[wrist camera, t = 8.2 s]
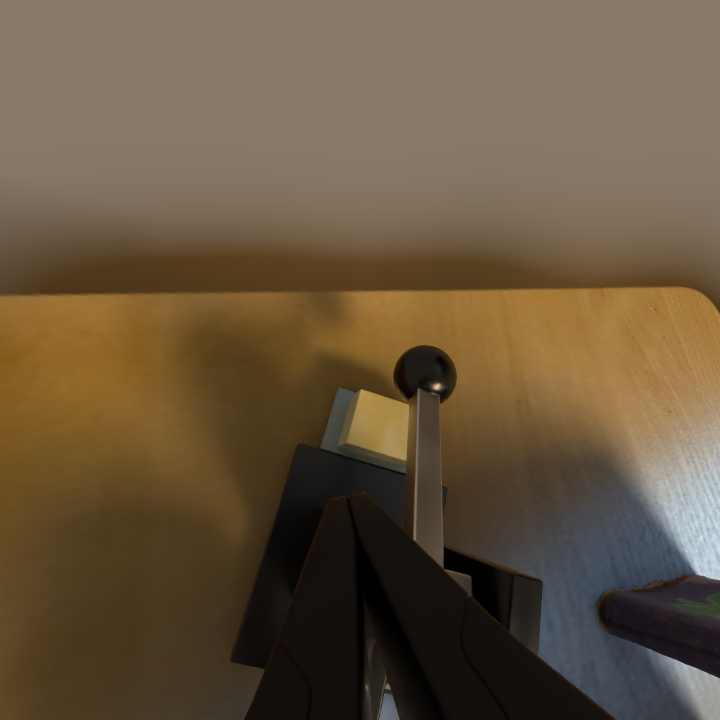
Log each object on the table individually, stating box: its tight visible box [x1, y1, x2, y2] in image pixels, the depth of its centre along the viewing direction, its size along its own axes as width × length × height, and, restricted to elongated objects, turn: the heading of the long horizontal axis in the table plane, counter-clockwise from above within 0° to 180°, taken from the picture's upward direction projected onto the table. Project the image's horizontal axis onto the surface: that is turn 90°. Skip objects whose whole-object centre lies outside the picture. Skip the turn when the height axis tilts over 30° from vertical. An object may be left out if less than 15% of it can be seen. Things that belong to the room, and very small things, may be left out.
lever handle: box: [385, 345, 473, 690], centre depth 14 cm, size 13×3×3 cm, turn 165°
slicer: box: [230, 444, 543, 720], centre depth 15 cm, size 10×9×12 cm
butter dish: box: [319, 387, 409, 475], centre depth 21 cm, size 4×6×3 cm, turn 75°
